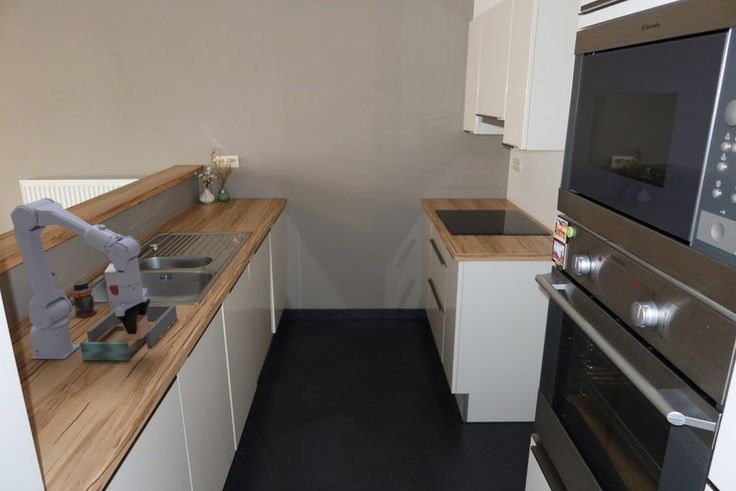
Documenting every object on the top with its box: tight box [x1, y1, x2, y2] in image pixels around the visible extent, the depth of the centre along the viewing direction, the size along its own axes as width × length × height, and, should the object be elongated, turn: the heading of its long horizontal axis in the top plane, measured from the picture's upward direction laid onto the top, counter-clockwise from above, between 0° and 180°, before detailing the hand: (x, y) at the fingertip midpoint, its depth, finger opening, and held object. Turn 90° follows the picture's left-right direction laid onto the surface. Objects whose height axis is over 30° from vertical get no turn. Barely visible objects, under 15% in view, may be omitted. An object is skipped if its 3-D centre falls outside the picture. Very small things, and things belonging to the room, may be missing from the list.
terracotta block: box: [122, 315, 149, 339], centre depth 143 cm, size 4×4×5 cm
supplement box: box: [103, 262, 120, 312], centre depth 177 cm, size 9×9×15 cm
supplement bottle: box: [71, 280, 97, 318], centre depth 173 cm, size 6×6×11 cm
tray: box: [79, 324, 153, 362], centre depth 152 cm, size 13×17×5 cm
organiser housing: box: [86, 304, 178, 347], centre depth 160 cm, size 18×19×5 cm
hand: (136, 329), depth 143 cm, fingers closed on terracotta block, 4 cm apart
